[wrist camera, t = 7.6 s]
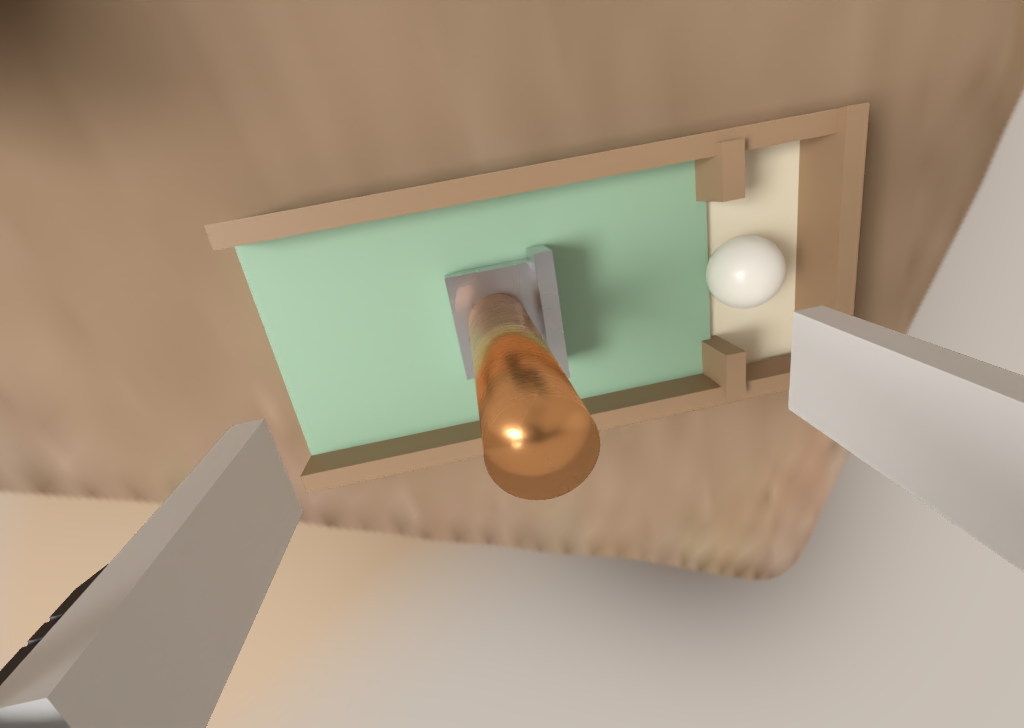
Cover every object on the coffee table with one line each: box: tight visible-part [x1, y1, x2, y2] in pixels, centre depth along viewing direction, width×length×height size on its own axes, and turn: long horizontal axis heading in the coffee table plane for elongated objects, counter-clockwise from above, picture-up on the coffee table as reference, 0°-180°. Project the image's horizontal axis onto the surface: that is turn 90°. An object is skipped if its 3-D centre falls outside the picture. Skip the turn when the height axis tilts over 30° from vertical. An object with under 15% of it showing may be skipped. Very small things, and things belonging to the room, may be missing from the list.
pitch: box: [204, 102, 870, 493], centre depth 24 cm, size 13×28×4 cm, turn 100°
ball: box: [706, 235, 786, 309], centre depth 23 cm, size 4×4×4 cm
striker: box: [444, 245, 600, 500], centre depth 18 cm, size 6×5×13 cm
